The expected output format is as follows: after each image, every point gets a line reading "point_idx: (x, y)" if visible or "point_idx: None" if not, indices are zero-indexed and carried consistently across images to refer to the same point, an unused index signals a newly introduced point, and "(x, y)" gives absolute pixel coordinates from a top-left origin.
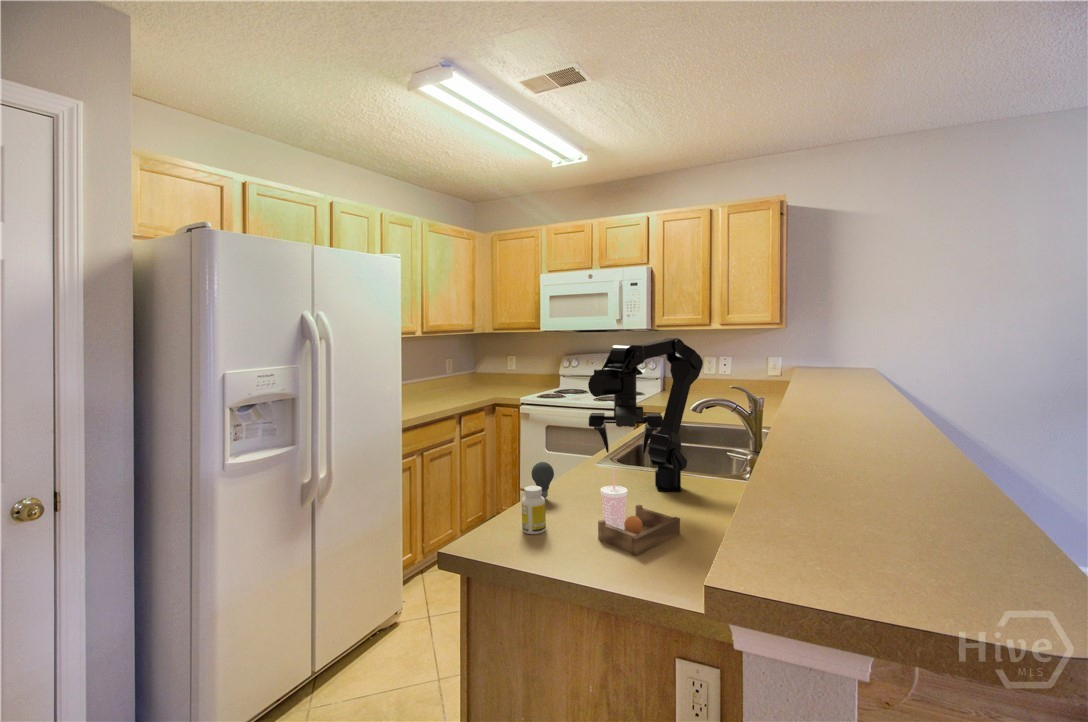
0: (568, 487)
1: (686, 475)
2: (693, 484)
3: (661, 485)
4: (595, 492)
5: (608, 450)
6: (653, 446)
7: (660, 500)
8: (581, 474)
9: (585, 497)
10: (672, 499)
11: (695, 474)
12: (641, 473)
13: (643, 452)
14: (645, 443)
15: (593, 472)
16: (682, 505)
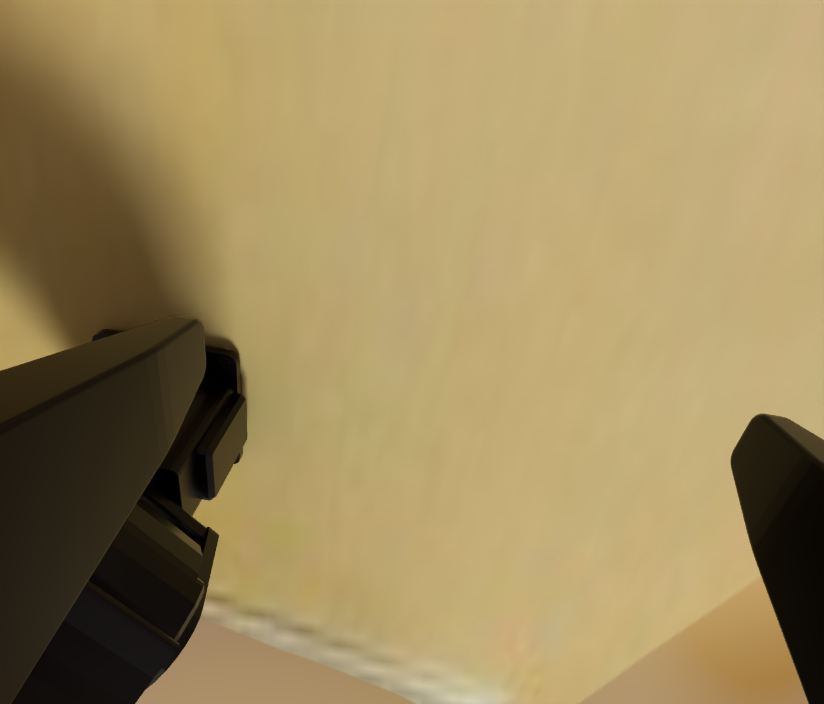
0: None
1: None
2: None
3: (206, 387)
4: (635, 372)
5: (777, 430)
6: (110, 619)
7: (231, 191)
8: (623, 624)
9: (739, 289)
10: (152, 205)
11: None
12: (309, 598)
13: (186, 318)
14: (41, 377)
15: (551, 638)
16: (81, 74)
